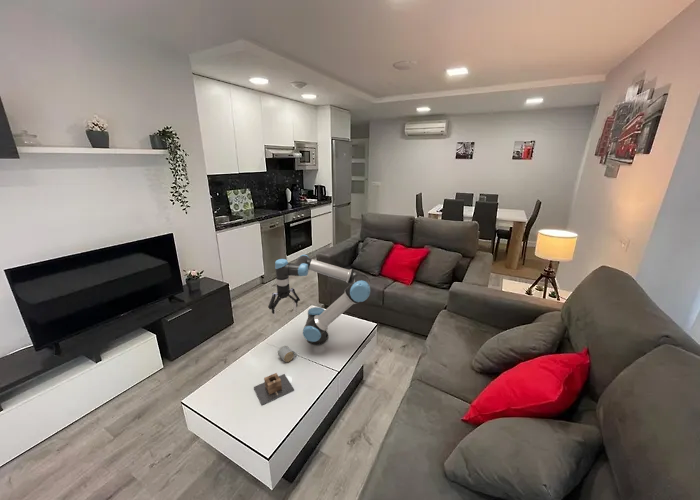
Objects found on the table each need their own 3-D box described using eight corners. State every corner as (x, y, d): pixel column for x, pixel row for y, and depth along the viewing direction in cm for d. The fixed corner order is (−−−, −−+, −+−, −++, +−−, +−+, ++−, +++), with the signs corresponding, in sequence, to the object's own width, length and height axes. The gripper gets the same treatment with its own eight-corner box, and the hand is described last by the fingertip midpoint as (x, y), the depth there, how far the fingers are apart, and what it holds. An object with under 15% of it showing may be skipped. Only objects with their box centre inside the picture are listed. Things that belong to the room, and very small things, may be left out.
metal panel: (284, 375, 170) (283, 368, 168) (294, 390, 159) (293, 383, 157) (253, 388, 160) (252, 381, 159) (261, 405, 149) (260, 398, 148)
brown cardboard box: (277, 381, 164) (276, 372, 162) (281, 389, 158) (280, 379, 157) (265, 386, 160) (264, 377, 158) (269, 394, 155) (268, 385, 153)
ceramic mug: (284, 365, 178) (284, 354, 176) (277, 358, 184) (277, 348, 181) (299, 357, 185) (298, 347, 183) (292, 351, 191) (291, 341, 189)
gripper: (299, 277, 187) (300, 306, 193) (260, 286, 173) (264, 317, 180) (304, 281, 181) (305, 311, 188) (264, 291, 168) (268, 323, 174)
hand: (285, 314), depth 184 cm, fingers open, 13 cm apart
